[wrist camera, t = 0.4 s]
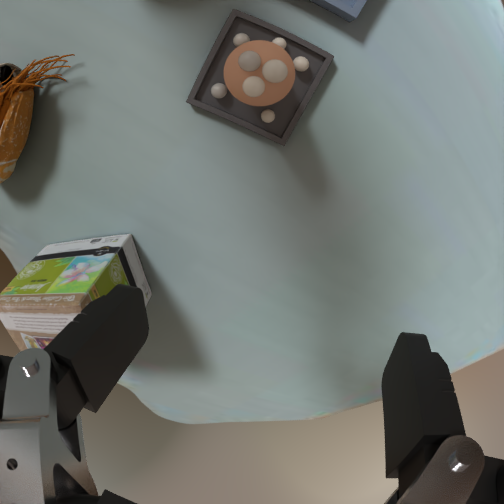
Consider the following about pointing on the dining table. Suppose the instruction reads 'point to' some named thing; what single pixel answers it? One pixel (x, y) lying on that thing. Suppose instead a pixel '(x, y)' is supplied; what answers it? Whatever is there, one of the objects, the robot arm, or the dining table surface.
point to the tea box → (67, 286)
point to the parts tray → (259, 117)
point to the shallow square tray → (342, 7)
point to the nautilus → (17, 109)
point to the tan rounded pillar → (259, 73)
